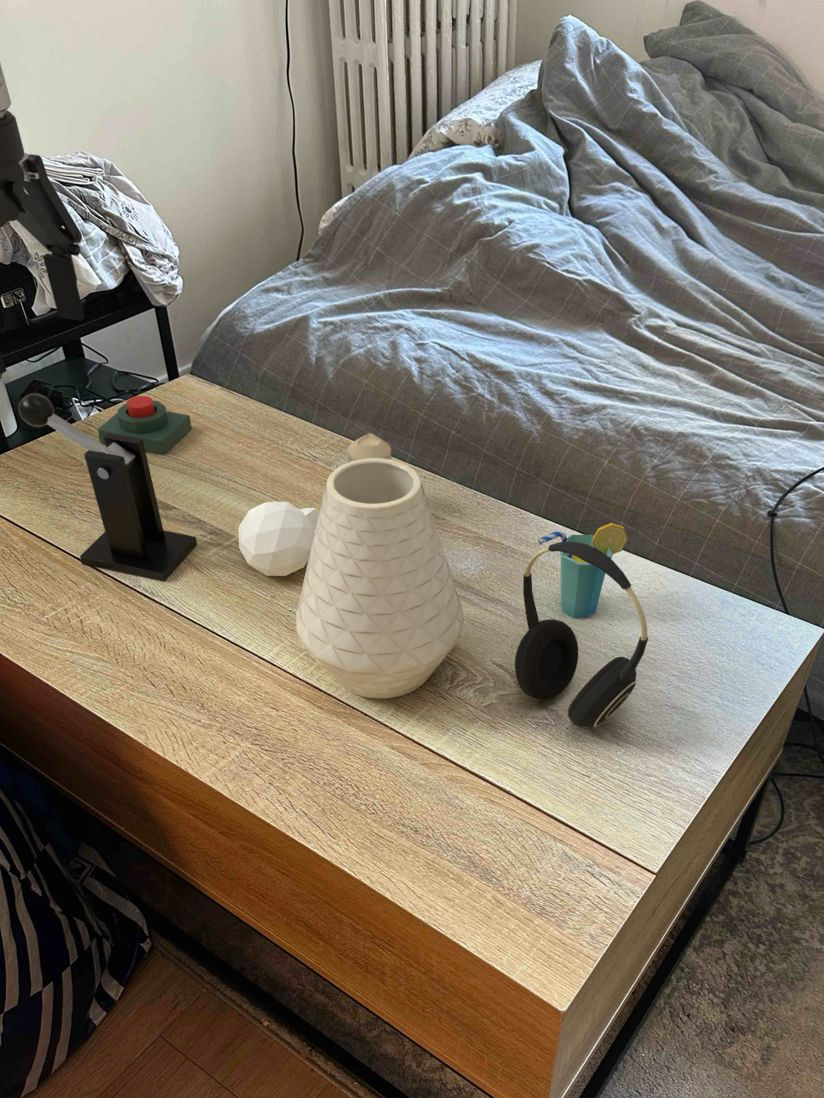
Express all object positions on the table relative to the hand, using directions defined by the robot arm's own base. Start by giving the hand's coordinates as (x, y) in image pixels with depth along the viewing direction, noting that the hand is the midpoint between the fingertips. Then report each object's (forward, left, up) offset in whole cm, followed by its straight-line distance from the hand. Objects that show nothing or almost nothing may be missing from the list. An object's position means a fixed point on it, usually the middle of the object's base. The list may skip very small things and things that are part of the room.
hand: (34, 343), depth 100 cm
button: (-9, +28, -23) cm, 37 cm away
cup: (+58, +8, -27) cm, 65 cm away
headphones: (+61, -8, -27) cm, 67 cm away
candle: (+28, +21, -27) cm, 44 cm away
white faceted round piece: (+23, +6, -27) cm, 36 cm away
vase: (+40, -8, -27) cm, 49 cm away
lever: (0, +2, -13) cm, 13 cm away
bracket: (+5, +2, -27) cm, 27 cm away
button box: (-9, +28, -27) cm, 39 cm away
